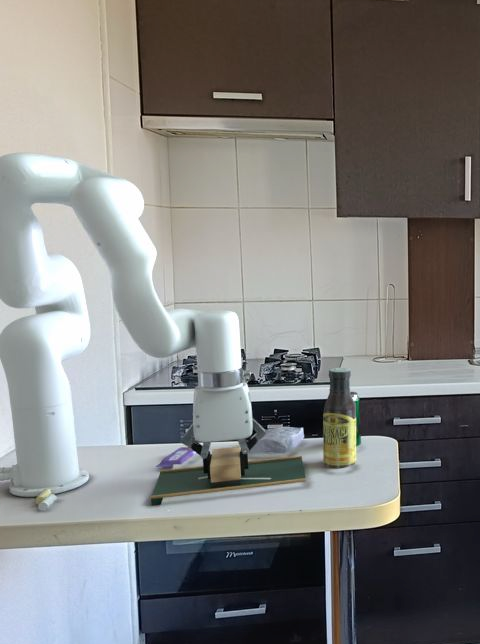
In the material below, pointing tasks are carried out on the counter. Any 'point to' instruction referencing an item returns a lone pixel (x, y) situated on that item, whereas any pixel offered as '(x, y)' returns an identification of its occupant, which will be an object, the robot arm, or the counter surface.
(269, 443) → the stone block
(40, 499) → the chalk stick
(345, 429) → the sauce bottle
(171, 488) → the chalkboard
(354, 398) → the soda can
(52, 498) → the chalk stick
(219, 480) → the eraser
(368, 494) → the counter surface
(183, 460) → the snack package
